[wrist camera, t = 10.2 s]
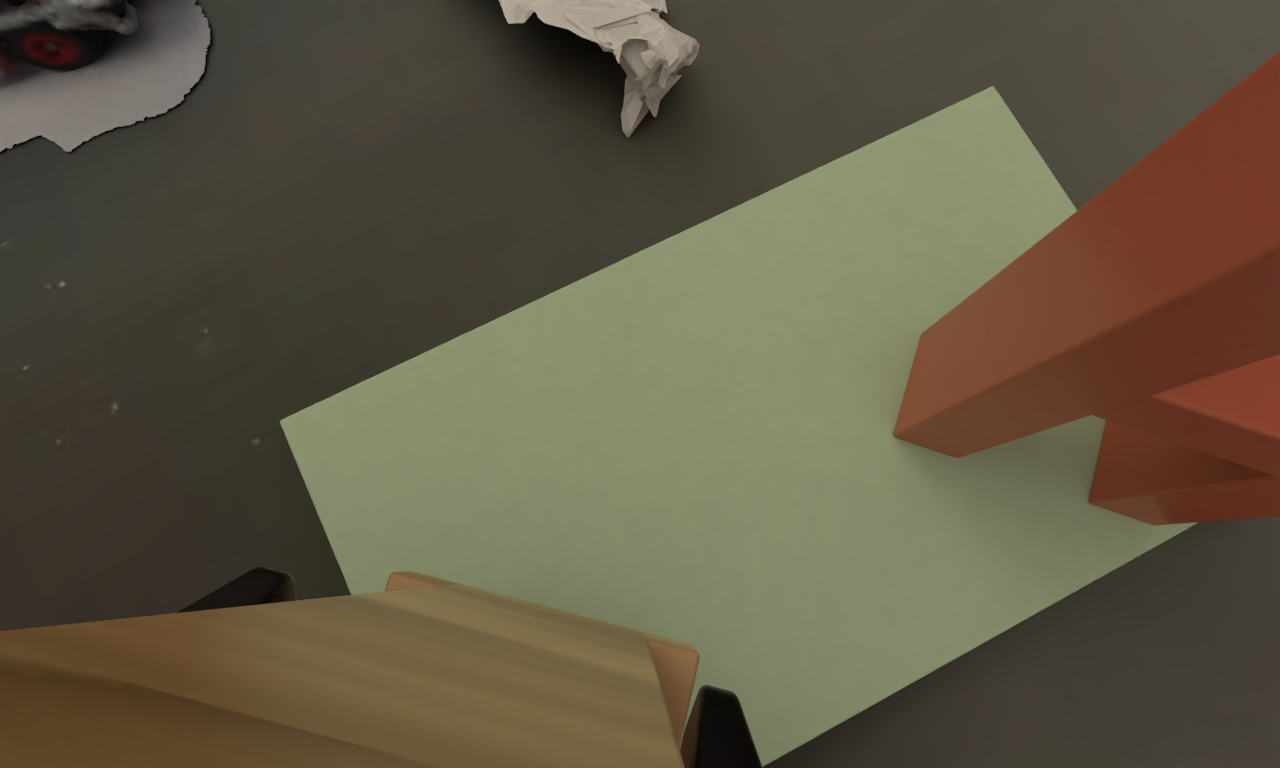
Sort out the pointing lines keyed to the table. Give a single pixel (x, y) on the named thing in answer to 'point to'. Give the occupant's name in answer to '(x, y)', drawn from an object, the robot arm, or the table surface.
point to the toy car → (94, 65)
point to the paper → (621, 43)
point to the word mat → (743, 440)
